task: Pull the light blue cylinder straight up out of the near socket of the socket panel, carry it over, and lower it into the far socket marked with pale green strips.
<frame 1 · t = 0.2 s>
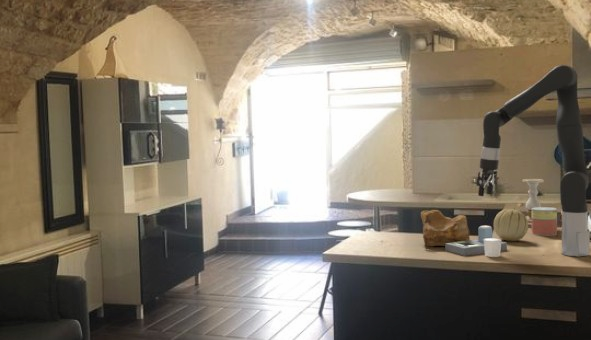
hand: (485, 195, 258), 22 cm above the countertop, fingers open, 8 cm apart
socket panel: (475, 251, 249), on the countertop
candle holder: (533, 226, 307), on the countertop
canned food: (544, 234, 285), on the countertop
shot glass: (492, 257, 239), on the countertop
cantaloupe: (510, 241, 269), on the countertop
light blue cylinder: (485, 248, 251), resting on socket panel
rough brown rock: (439, 246, 262), on the countertop
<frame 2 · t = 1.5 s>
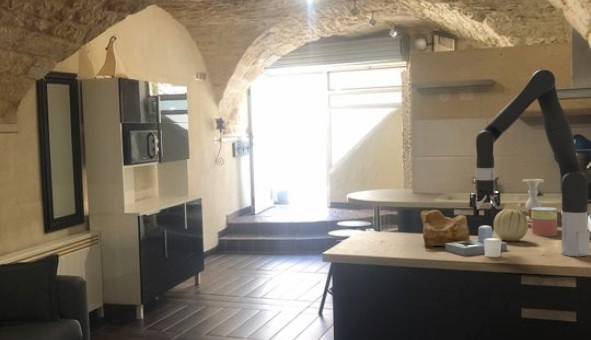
hand: (484, 217, 250), 14 cm above the countertop, fingers open, 8 cm apart
nothing on the countertop moved.
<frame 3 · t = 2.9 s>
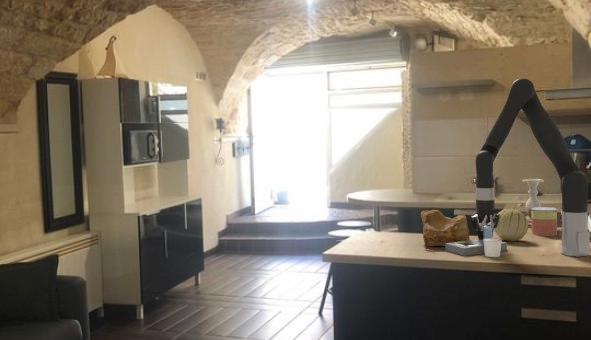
hand: (485, 238, 251), 5 cm above the countertop, fingers closed on light blue cylinder, 4 cm apart
light blue cylinder: (485, 248, 251), point 1 cm above the countertop, touching gripper, socket panel
everything else where it was.
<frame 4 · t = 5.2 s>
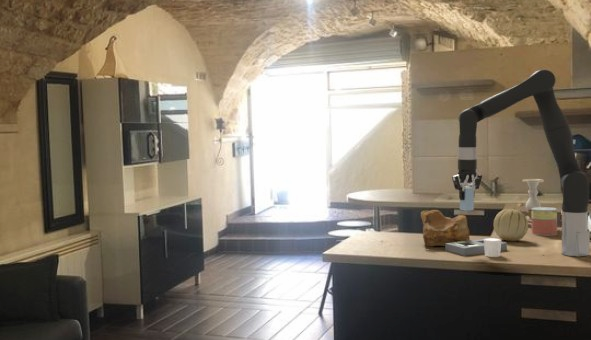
hand: (466, 199, 247), 22 cm above the countertop, fingers closed on light blue cylinder, 4 cm apart
light blue cylinder: (466, 209, 247), point 18 cm above the countertop, touching gripper
everything else where it was.
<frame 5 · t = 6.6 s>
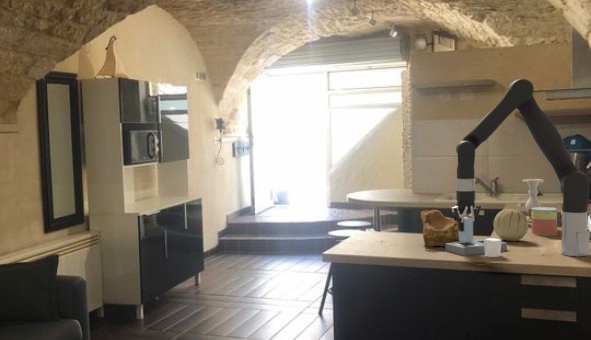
hand: (466, 230, 247), 9 cm above the countertop, fingers closed on light blue cylinder, 4 cm apart
light blue cylinder: (465, 240, 247), point 5 cm above the countertop, touching gripper
everything else where it was.
when the fingers open (5 cm above the countertop, at t = 7.8 s): light blue cylinder stays where it is, resting on socket panel.
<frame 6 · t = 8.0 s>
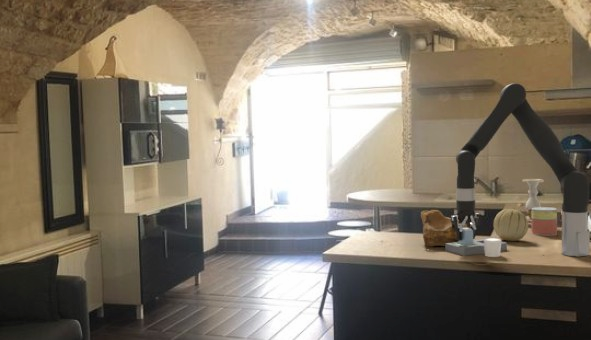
hand: (466, 239, 247), 6 cm above the countertop, fingers open, 6 cm apart
light blue cylinder: (466, 251, 247), resting on socket panel
everything else where it was.
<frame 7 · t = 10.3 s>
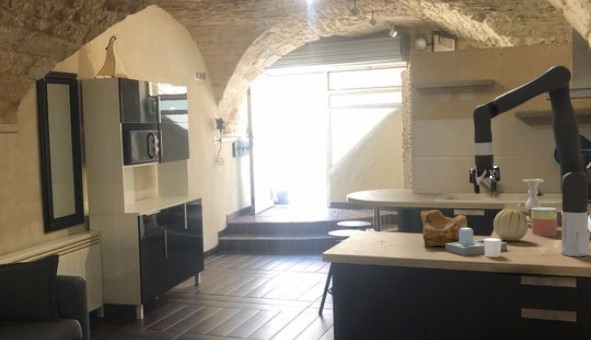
hand: (485, 192, 248), 24 cm above the countertop, fingers open, 8 cm apart
nothing on the countertop moved.
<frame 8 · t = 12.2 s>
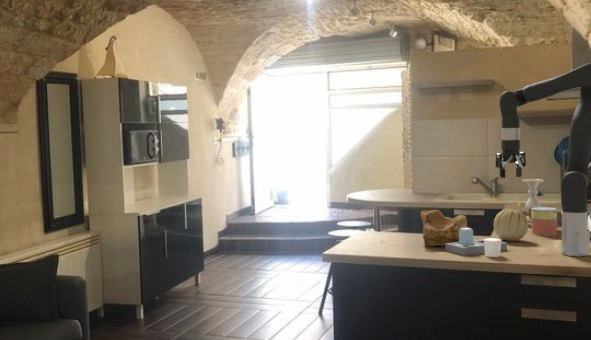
hand: (510, 177, 252), 30 cm above the countertop, fingers open, 8 cm apart
nothing on the countertop moved.
at the end: light blue cylinder 0.0 cm from the target spot on the socket panel, point 0.5 cm above the socket panel's base; light blue cylinder tilted 0°; the gripper is holding nothing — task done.
